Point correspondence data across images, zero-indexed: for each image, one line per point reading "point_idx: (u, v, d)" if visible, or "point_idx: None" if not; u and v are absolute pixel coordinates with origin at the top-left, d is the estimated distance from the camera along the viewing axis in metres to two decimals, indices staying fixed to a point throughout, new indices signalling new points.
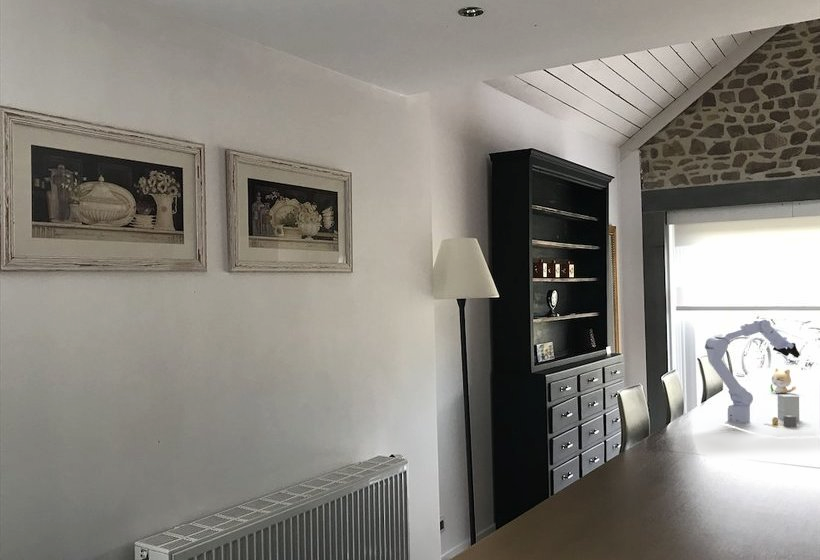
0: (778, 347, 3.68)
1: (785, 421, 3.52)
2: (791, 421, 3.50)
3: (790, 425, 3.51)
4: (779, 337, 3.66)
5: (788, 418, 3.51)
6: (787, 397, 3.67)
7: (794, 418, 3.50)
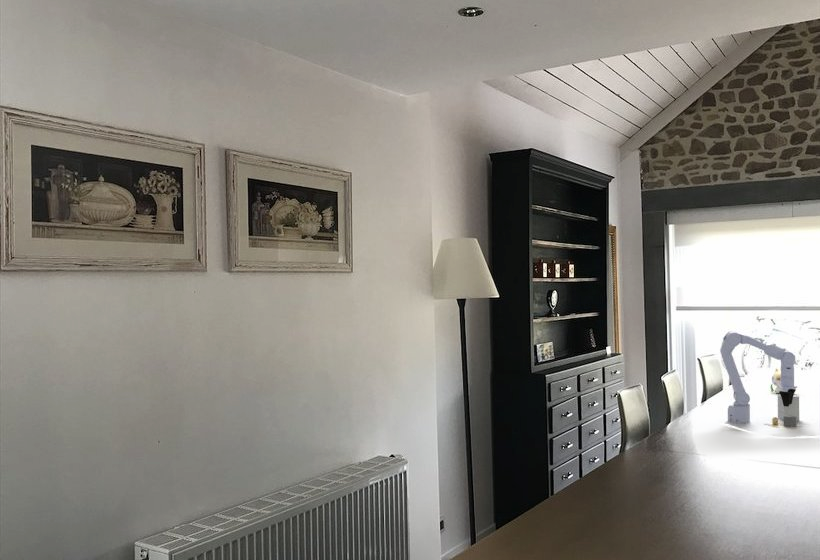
0: (780, 385, 3.60)
1: (785, 421, 3.52)
2: (791, 421, 3.50)
3: (790, 425, 3.51)
4: (788, 378, 3.57)
5: (788, 418, 3.51)
6: None
7: (794, 418, 3.50)
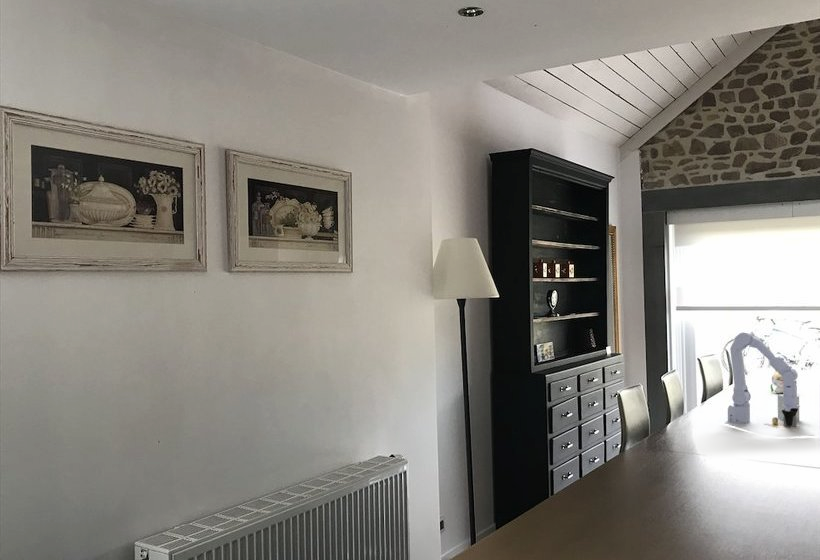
0: (783, 404, 3.53)
1: (785, 421, 3.52)
2: None
3: None
4: (790, 397, 3.50)
5: None
6: None
7: (794, 418, 3.50)
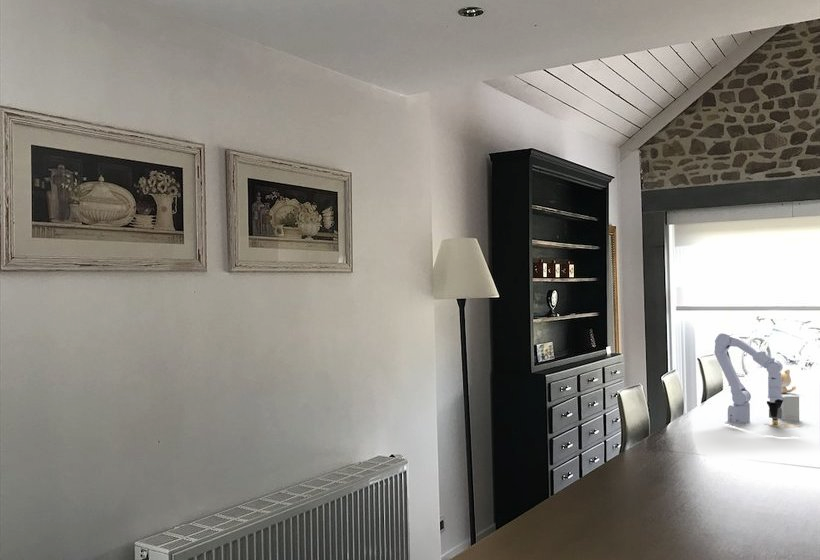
0: (768, 395, 3.57)
1: (770, 413, 3.56)
2: None
3: (775, 417, 3.54)
4: (775, 389, 3.54)
5: None
6: (787, 397, 3.67)
7: (779, 410, 3.54)
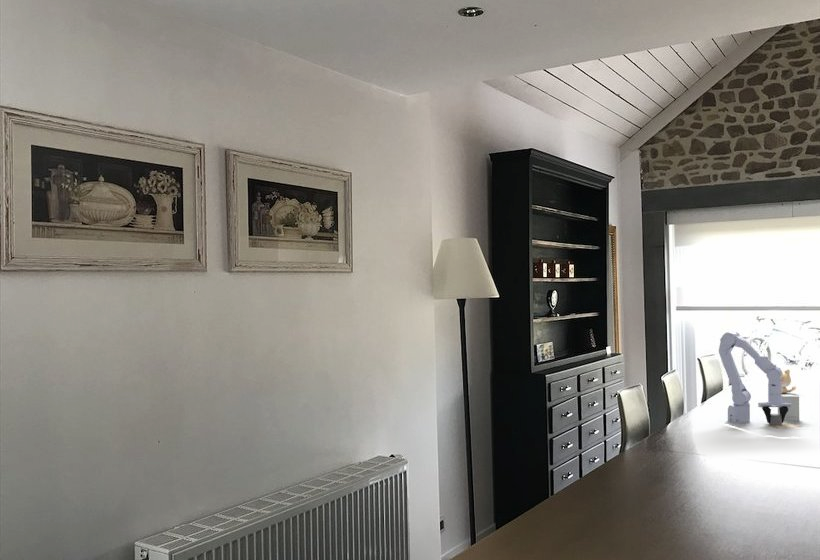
0: None
1: None
2: (770, 419, 3.56)
3: (770, 423, 3.56)
4: (769, 395, 3.56)
5: None
6: (787, 397, 3.67)
7: (773, 416, 3.55)
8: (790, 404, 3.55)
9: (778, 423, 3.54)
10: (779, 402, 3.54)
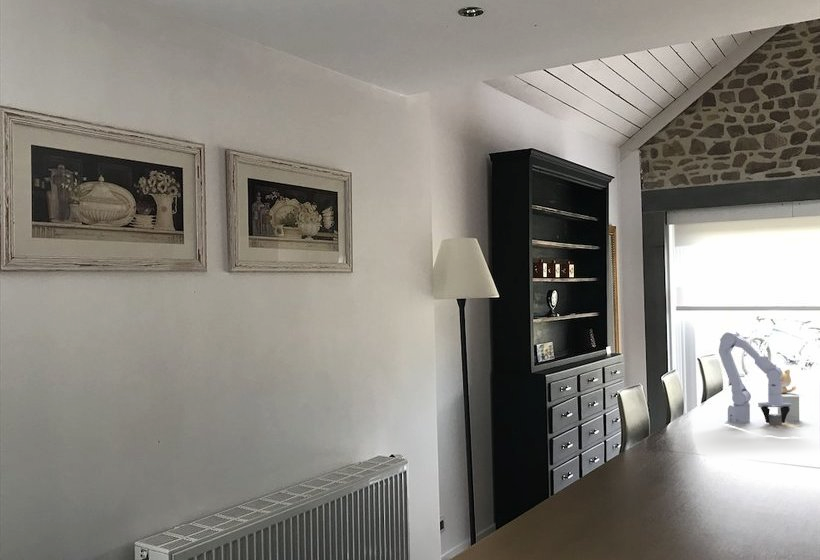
0: None
1: None
2: (770, 419, 3.56)
3: (769, 423, 3.56)
4: (769, 395, 3.56)
5: (769, 415, 3.57)
6: (787, 397, 3.67)
7: (773, 417, 3.55)
8: (790, 404, 3.55)
9: (778, 423, 3.54)
10: (779, 402, 3.54)
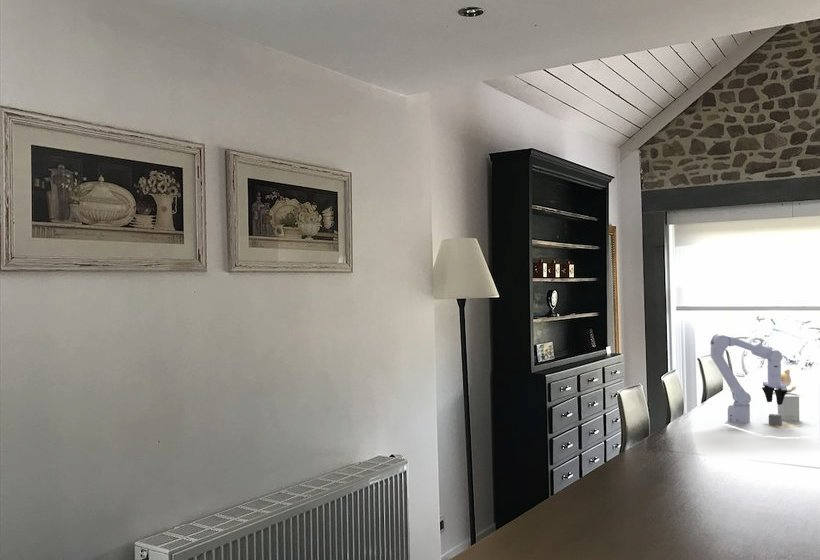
0: (771, 384, 3.62)
1: None
2: (770, 419, 3.56)
3: (769, 423, 3.56)
4: (779, 376, 3.61)
5: (769, 415, 3.57)
6: (787, 397, 3.67)
7: (773, 417, 3.55)
8: None
9: (778, 423, 3.54)
10: None
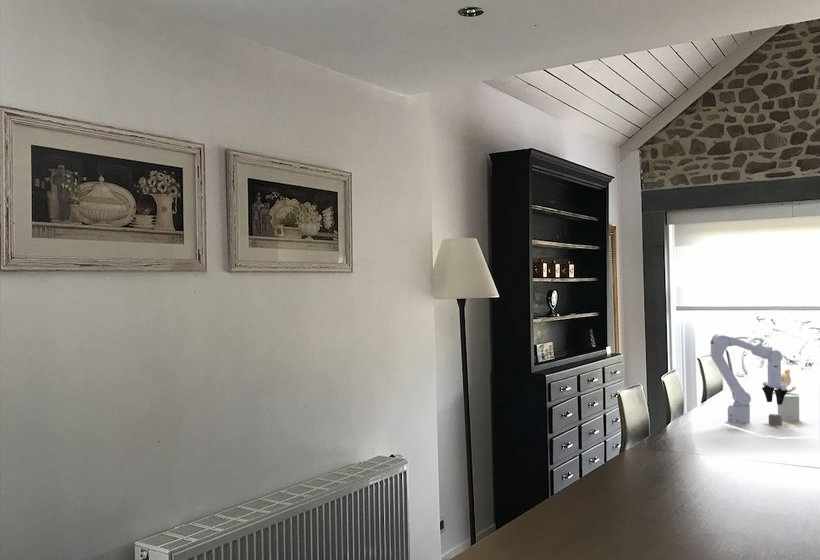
0: (771, 384, 3.62)
1: None
2: (770, 419, 3.56)
3: (769, 423, 3.56)
4: (779, 376, 3.61)
5: (769, 415, 3.57)
6: (787, 397, 3.67)
7: (773, 417, 3.55)
8: None
9: (778, 423, 3.54)
10: None
